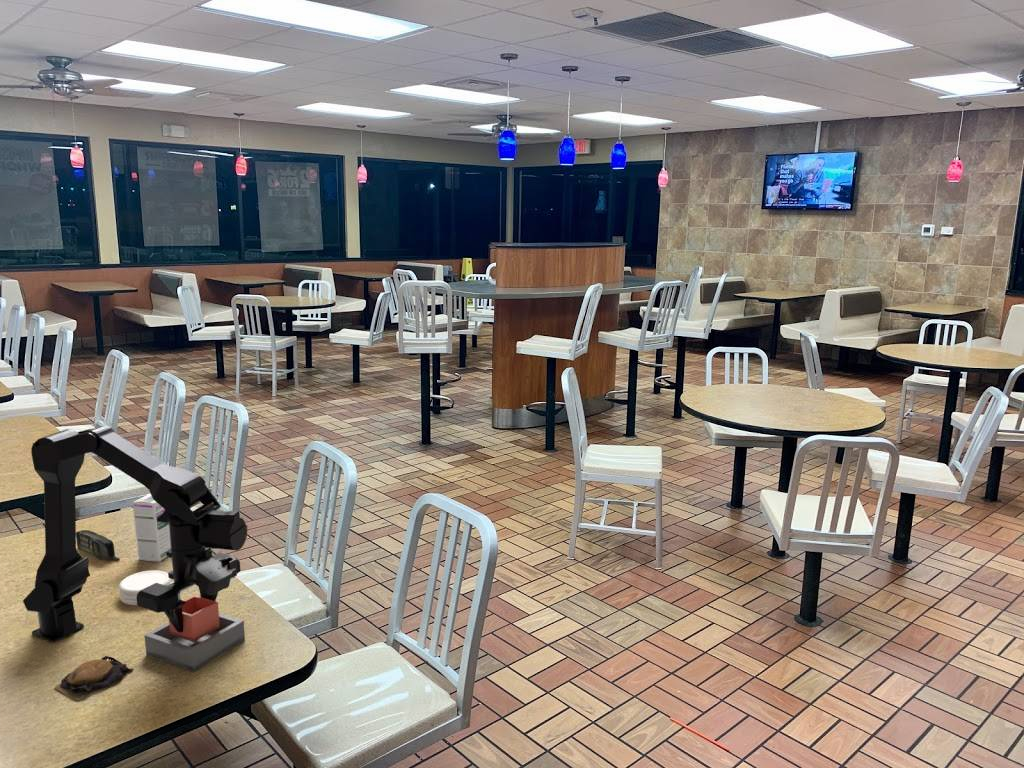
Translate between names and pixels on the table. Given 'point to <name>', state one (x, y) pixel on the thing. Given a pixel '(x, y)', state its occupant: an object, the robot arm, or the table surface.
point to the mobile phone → (95, 545)
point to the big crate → (194, 644)
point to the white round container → (140, 584)
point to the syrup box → (150, 530)
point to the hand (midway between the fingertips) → (194, 623)
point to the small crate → (197, 618)
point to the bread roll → (92, 678)
